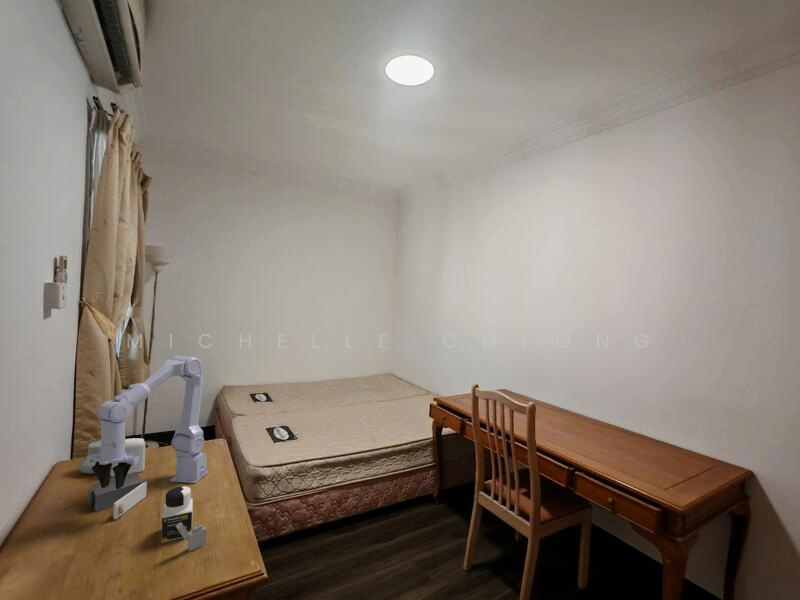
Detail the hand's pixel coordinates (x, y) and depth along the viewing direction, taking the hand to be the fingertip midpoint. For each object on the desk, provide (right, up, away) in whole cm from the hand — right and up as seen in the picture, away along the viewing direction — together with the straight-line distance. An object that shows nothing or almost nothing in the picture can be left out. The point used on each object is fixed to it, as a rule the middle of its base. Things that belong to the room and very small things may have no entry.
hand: (112, 486), depth 113 cm
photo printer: (-14, -8, +26) cm, 30 cm away
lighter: (+31, -10, -14) cm, 35 cm away
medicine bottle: (+23, -10, -7) cm, 26 cm away
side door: (+3, -8, +4) cm, 10 cm away
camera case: (-5, -8, +9) cm, 13 cm away
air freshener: (-26, -7, +27) cm, 38 cm away
